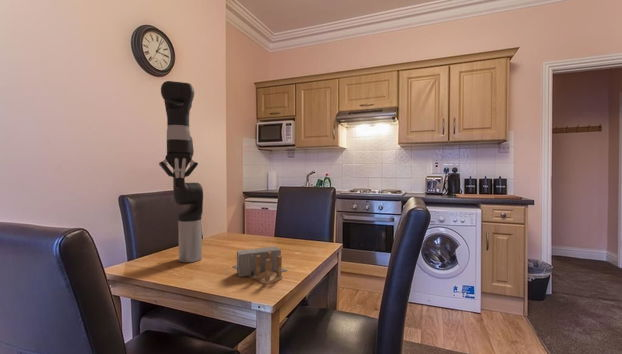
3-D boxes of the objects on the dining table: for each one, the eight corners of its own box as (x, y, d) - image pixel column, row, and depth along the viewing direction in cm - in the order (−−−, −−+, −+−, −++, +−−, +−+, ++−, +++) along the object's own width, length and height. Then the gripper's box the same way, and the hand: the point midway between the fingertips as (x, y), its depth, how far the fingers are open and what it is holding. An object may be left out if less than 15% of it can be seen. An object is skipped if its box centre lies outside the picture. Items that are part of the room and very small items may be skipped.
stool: (254, 278, 103) (254, 255, 103) (269, 273, 108) (269, 251, 108) (266, 285, 98) (267, 261, 98) (282, 279, 104) (282, 256, 103)
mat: (232, 267, 117) (232, 266, 117) (263, 260, 126) (263, 259, 126) (253, 279, 103) (253, 278, 103) (287, 271, 112) (287, 270, 112)
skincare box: (238, 255, 104) (281, 249, 110) (235, 250, 111) (276, 244, 116) (239, 278, 104) (282, 271, 110) (236, 272, 111) (277, 266, 117)
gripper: (194, 141, 110) (195, 187, 110) (155, 139, 102) (156, 189, 102) (201, 139, 104) (201, 188, 105) (160, 137, 96) (160, 190, 96)
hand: (179, 188), depth 103 cm, fingers closed
